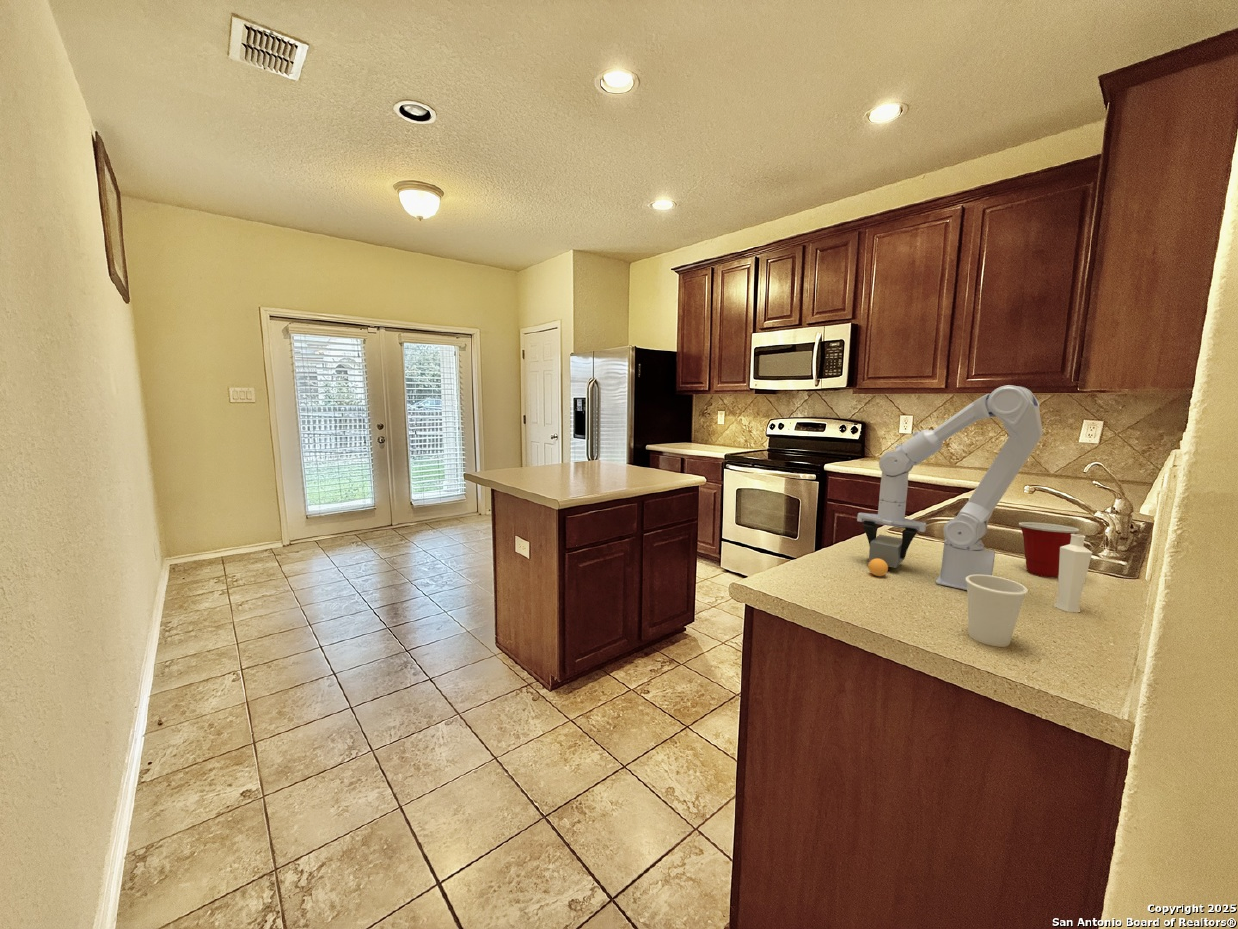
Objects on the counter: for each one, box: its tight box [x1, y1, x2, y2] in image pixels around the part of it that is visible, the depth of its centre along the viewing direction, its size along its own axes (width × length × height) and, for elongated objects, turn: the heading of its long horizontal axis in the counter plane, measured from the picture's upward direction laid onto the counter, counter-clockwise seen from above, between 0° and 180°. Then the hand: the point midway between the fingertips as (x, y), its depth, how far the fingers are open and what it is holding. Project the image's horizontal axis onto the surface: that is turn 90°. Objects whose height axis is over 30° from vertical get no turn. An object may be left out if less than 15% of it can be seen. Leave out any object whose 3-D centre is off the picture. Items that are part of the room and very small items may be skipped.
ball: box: [868, 558, 889, 577], centre depth 113 cm, size 4×4×4 cm
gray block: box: [868, 534, 906, 569], centre depth 119 cm, size 6×9×5 cm, turn 139°
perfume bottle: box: [1053, 533, 1093, 613], centre depth 95 cm, size 5×4×15 cm
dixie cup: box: [966, 574, 1029, 648], centre depth 83 cm, size 8×8×10 cm
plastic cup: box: [1018, 521, 1080, 578], centre depth 115 cm, size 11×11×12 cm
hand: (887, 554), depth 119 cm, fingers closed on gray block, 6 cm apart
